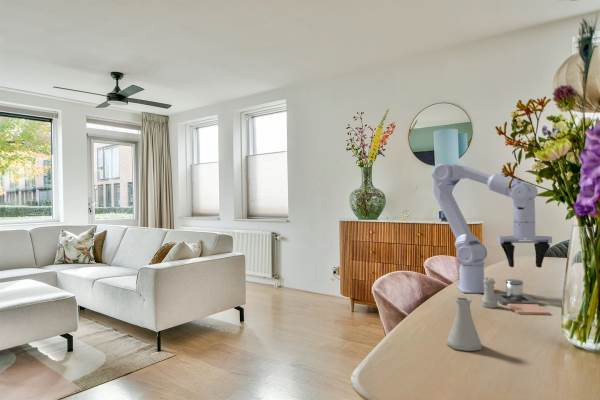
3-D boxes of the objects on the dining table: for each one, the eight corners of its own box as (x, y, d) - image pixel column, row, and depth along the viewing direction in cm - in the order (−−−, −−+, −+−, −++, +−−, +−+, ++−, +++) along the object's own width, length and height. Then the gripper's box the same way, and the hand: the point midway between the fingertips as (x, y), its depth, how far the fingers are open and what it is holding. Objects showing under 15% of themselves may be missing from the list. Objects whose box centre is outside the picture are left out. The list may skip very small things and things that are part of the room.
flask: (442, 339, 88) (441, 294, 88) (476, 339, 87) (475, 294, 87) (451, 351, 80) (450, 303, 80) (488, 352, 80) (487, 303, 80)
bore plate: (491, 296, 124) (491, 293, 124) (526, 296, 122) (526, 294, 122) (502, 304, 114) (502, 301, 114) (539, 305, 112) (539, 302, 112)
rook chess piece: (500, 308, 110) (499, 280, 110) (483, 308, 111) (482, 279, 111) (495, 304, 114) (495, 277, 114) (479, 303, 115) (478, 276, 115)
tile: (507, 305, 113) (506, 303, 113) (537, 306, 111) (537, 304, 111) (517, 313, 105) (517, 311, 105) (550, 314, 104) (550, 312, 104)
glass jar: (503, 298, 121) (503, 279, 121) (519, 299, 120) (519, 279, 120) (508, 302, 116) (508, 282, 116) (525, 303, 115) (525, 282, 115)
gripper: (503, 223, 116) (503, 268, 116) (556, 222, 114) (557, 269, 114) (495, 221, 123) (496, 264, 123) (545, 221, 121) (546, 265, 121)
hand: (524, 266), depth 119 cm, fingers open, 7 cm apart
